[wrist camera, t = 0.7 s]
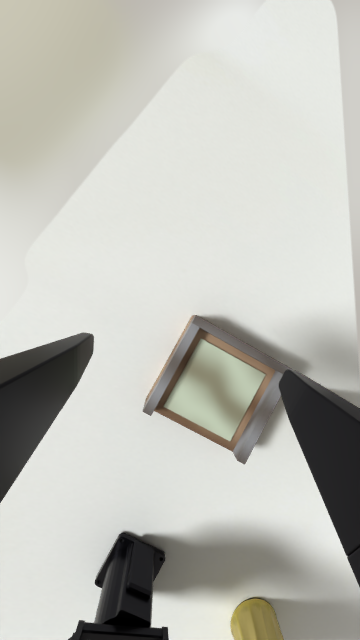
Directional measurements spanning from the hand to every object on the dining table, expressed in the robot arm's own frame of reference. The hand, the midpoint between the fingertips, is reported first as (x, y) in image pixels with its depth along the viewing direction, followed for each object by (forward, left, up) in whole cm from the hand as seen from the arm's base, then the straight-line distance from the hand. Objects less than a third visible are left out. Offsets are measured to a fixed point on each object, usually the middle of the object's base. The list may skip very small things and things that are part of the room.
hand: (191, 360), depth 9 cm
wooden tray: (-3, -7, -16) cm, 18 cm away
